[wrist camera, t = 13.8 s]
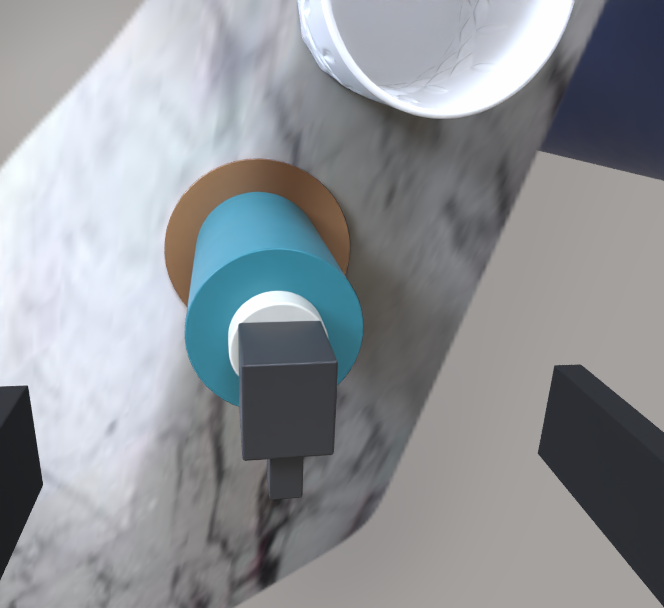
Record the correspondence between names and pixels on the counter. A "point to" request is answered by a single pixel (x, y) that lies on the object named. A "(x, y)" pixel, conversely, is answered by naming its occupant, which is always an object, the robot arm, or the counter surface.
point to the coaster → (244, 180)
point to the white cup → (434, 49)
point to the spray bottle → (272, 330)
